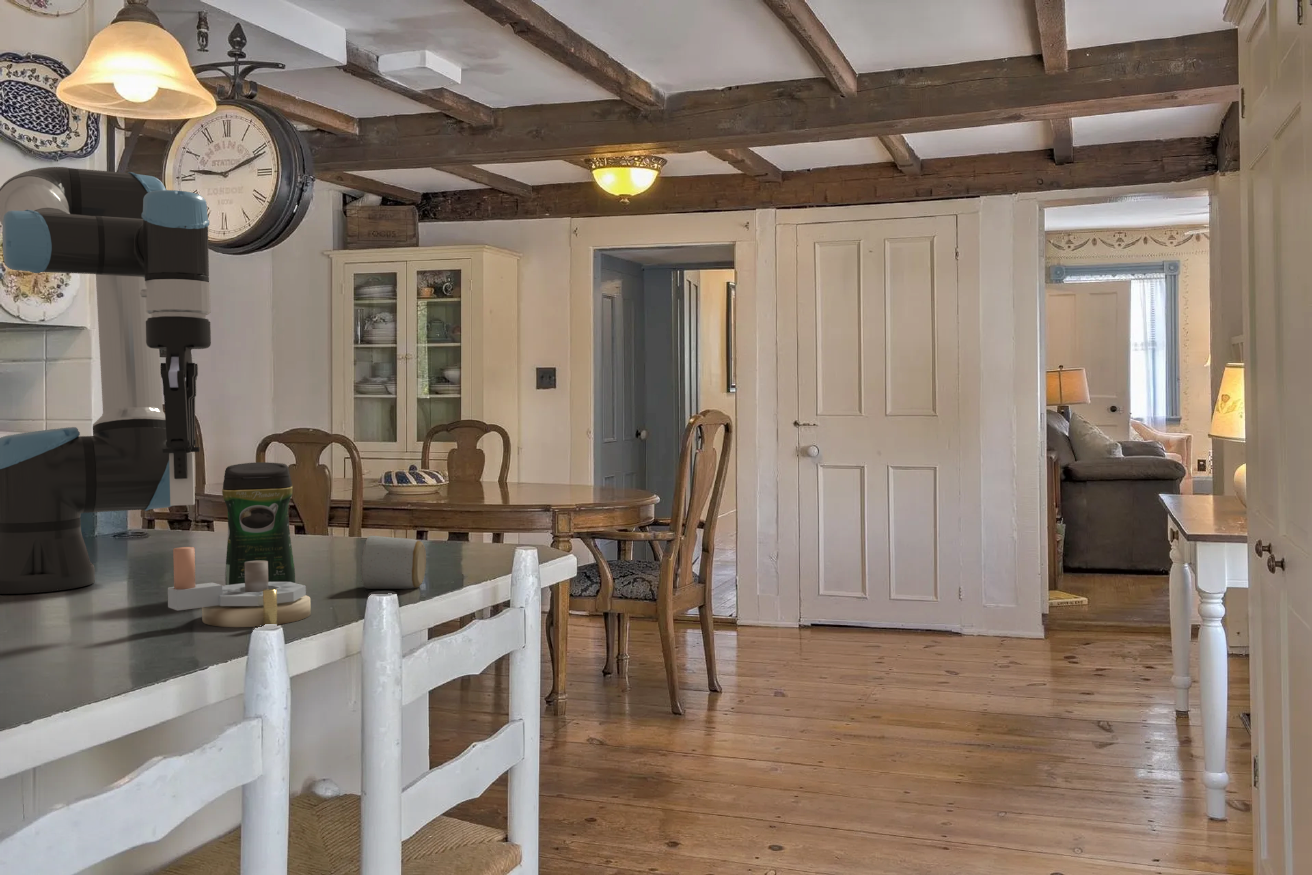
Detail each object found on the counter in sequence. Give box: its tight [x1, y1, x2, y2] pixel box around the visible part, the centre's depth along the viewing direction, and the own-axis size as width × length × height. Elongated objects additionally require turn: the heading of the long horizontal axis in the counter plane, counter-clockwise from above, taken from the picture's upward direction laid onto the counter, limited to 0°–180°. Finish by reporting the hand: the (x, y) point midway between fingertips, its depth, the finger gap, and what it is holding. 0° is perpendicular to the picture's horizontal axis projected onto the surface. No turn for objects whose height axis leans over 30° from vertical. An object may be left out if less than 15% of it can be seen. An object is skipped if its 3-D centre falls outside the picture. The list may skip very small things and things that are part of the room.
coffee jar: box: [221, 461, 296, 585], centre depth 167 cm, size 10×8×19 cm
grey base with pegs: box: [167, 546, 307, 611], centre depth 145 cm, size 16×11×7 cm
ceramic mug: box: [360, 535, 427, 590], centre depth 170 cm, size 11×8×8 cm
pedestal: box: [201, 560, 312, 628], centre depth 147 cm, size 13×13×7 cm
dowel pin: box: [263, 589, 278, 625], centre depth 141 cm, size 2×2×4 cm
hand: (182, 504), depth 146 cm, fingers closed
